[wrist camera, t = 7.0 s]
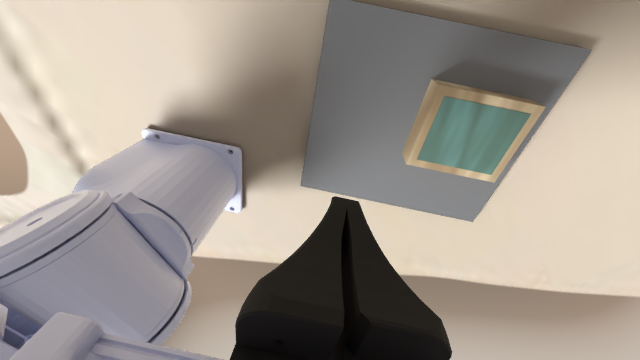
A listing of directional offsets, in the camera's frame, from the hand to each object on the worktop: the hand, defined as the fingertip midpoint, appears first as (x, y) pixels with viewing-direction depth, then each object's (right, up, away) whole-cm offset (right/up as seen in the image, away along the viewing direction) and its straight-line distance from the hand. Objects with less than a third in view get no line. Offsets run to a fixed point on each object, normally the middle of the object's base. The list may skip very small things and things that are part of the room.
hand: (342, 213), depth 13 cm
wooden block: (+6, +6, +6) cm, 10 cm away
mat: (+7, +6, +8) cm, 12 cm away
